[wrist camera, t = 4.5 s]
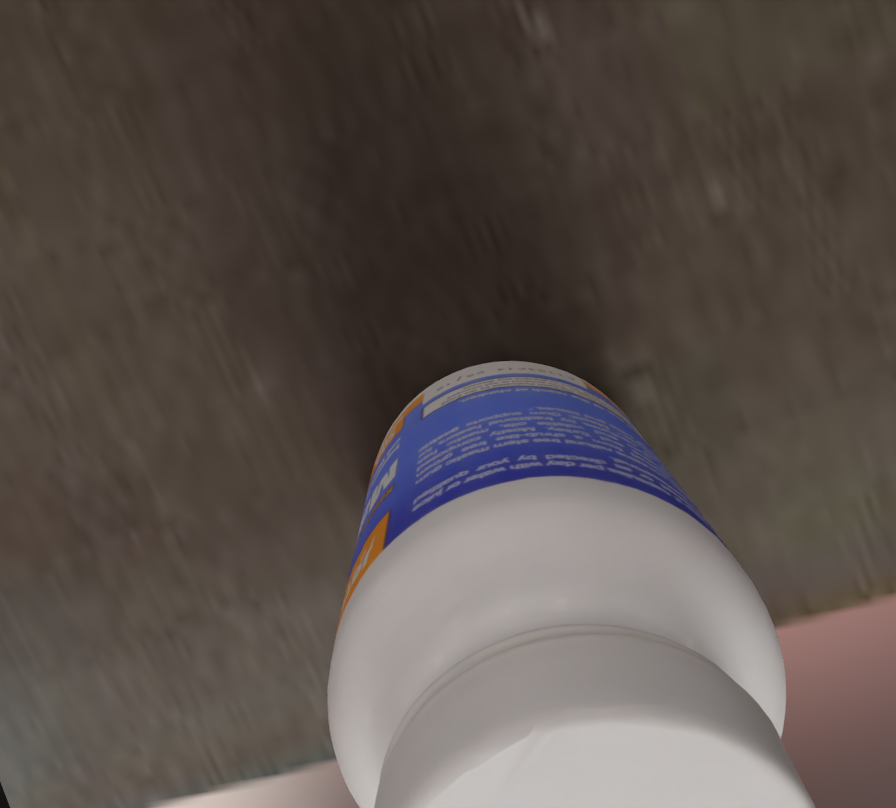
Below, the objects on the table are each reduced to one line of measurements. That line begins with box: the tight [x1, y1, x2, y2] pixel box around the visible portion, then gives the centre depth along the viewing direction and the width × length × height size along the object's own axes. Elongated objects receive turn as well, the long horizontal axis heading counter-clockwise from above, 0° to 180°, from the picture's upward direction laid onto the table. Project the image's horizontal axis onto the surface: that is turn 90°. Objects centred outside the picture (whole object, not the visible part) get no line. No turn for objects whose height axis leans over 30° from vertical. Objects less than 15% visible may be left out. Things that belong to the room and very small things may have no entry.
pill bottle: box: [328, 361, 815, 808], centre depth 12 cm, size 5×5×10 cm
